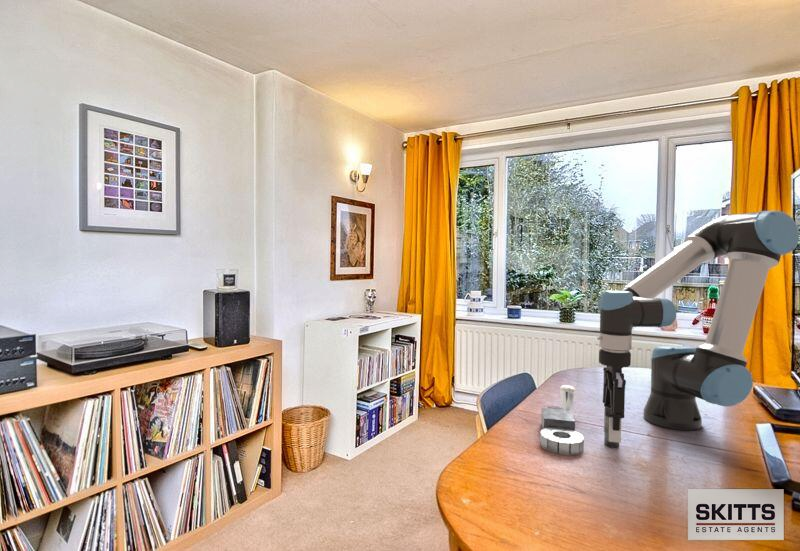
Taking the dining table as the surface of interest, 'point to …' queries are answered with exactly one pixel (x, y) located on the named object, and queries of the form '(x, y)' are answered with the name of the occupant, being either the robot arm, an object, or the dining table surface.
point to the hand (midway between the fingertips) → (611, 436)
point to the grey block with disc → (560, 432)
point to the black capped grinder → (606, 435)
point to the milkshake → (567, 397)
